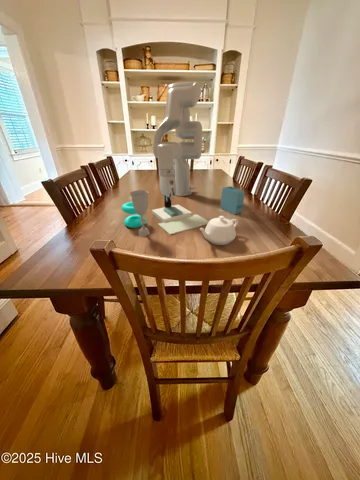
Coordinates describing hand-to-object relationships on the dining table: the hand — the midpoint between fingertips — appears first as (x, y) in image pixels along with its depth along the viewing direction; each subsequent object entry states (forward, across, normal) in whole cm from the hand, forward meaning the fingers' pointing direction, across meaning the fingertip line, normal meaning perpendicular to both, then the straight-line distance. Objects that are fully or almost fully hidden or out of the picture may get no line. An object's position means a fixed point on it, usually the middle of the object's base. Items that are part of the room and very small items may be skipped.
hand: (168, 207), depth 105 cm
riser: (+3, -4, 0) cm, 4 cm away
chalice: (+3, -16, +20) cm, 25 cm away
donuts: (+3, -5, +20) cm, 21 cm away
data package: (+3, -15, -30) cm, 34 cm away
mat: (+3, -16, 0) cm, 17 cm away
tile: (+1, -6, 0) cm, 6 cm away
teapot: (+3, -36, -4) cm, 37 cm away
